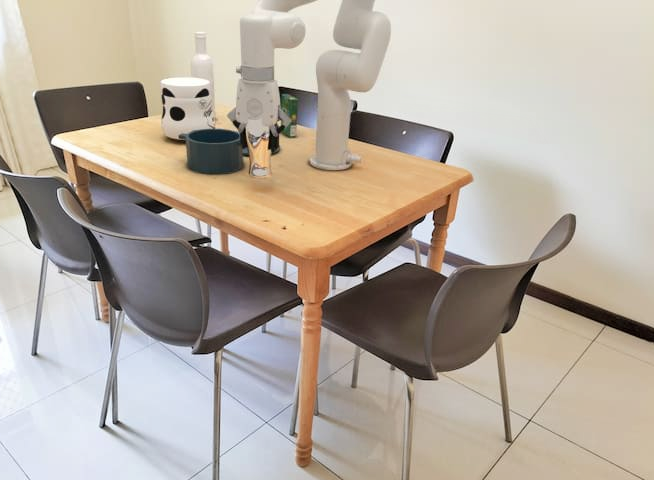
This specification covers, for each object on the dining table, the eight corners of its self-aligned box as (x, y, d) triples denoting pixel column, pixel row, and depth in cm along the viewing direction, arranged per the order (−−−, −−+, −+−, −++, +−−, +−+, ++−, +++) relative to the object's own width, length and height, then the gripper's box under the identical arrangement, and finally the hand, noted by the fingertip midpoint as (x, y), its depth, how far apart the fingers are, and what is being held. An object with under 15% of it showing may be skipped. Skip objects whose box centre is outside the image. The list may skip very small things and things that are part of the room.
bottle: (218, 117, 194) (214, 31, 179) (212, 122, 188) (207, 33, 173) (198, 116, 195) (192, 30, 180) (191, 121, 188) (184, 32, 173)
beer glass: (274, 169, 133) (273, 111, 125) (273, 179, 127) (272, 119, 119) (247, 169, 133) (245, 111, 125) (245, 179, 127) (243, 118, 119)
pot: (194, 153, 155) (192, 125, 151) (259, 161, 151) (258, 133, 147) (169, 168, 142) (166, 138, 138) (239, 178, 138) (239, 147, 134)
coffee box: (297, 137, 176) (298, 98, 170) (289, 138, 175) (290, 98, 168) (287, 131, 182) (288, 93, 176) (280, 132, 181) (280, 93, 175)
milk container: (226, 140, 169) (223, 84, 160) (178, 148, 158) (173, 88, 149) (199, 128, 180) (195, 75, 171) (153, 135, 169) (147, 79, 160)
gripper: (216, 73, 116) (221, 149, 125) (289, 79, 113) (288, 157, 122) (229, 68, 122) (232, 141, 131) (298, 74, 119) (297, 148, 128)
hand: (259, 148), depth 127 cm, fingers closed on beer glass, 7 cm apart
